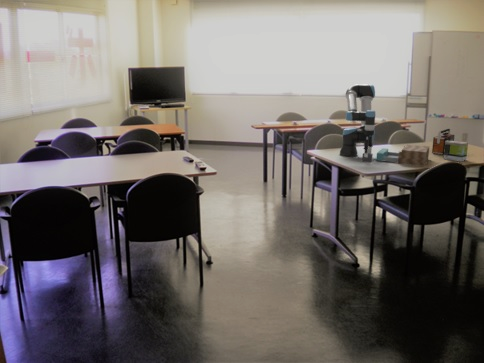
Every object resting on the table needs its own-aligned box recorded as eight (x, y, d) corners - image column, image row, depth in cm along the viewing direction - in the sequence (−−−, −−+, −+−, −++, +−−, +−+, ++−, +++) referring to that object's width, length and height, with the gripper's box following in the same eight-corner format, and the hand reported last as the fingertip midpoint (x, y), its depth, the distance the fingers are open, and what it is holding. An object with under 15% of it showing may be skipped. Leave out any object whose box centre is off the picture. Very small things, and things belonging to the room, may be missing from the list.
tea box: (466, 160, 411) (468, 142, 407) (460, 161, 404) (463, 143, 400) (449, 157, 421) (451, 140, 418) (443, 159, 415) (445, 141, 411)
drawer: (376, 160, 405) (376, 153, 404) (381, 155, 426) (382, 148, 425) (405, 163, 396) (406, 155, 394) (409, 157, 417) (410, 150, 415)
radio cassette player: (443, 155, 430) (445, 132, 425) (430, 154, 436) (433, 131, 431) (453, 150, 452) (455, 128, 447) (441, 149, 458) (443, 127, 453)
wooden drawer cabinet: (397, 163, 396) (399, 149, 394) (403, 157, 421) (404, 144, 418) (424, 165, 388) (425, 152, 385) (428, 159, 412) (429, 146, 410)
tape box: (362, 161, 404) (362, 153, 403) (363, 160, 408) (364, 152, 407) (370, 162, 401) (371, 154, 400) (372, 160, 406) (372, 153, 404)
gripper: (370, 131, 386) (369, 158, 391) (377, 128, 408) (375, 153, 413) (361, 131, 389) (359, 157, 394) (368, 127, 411) (366, 153, 416)
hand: (367, 155), depth 403 cm, fingers open, 13 cm apart
